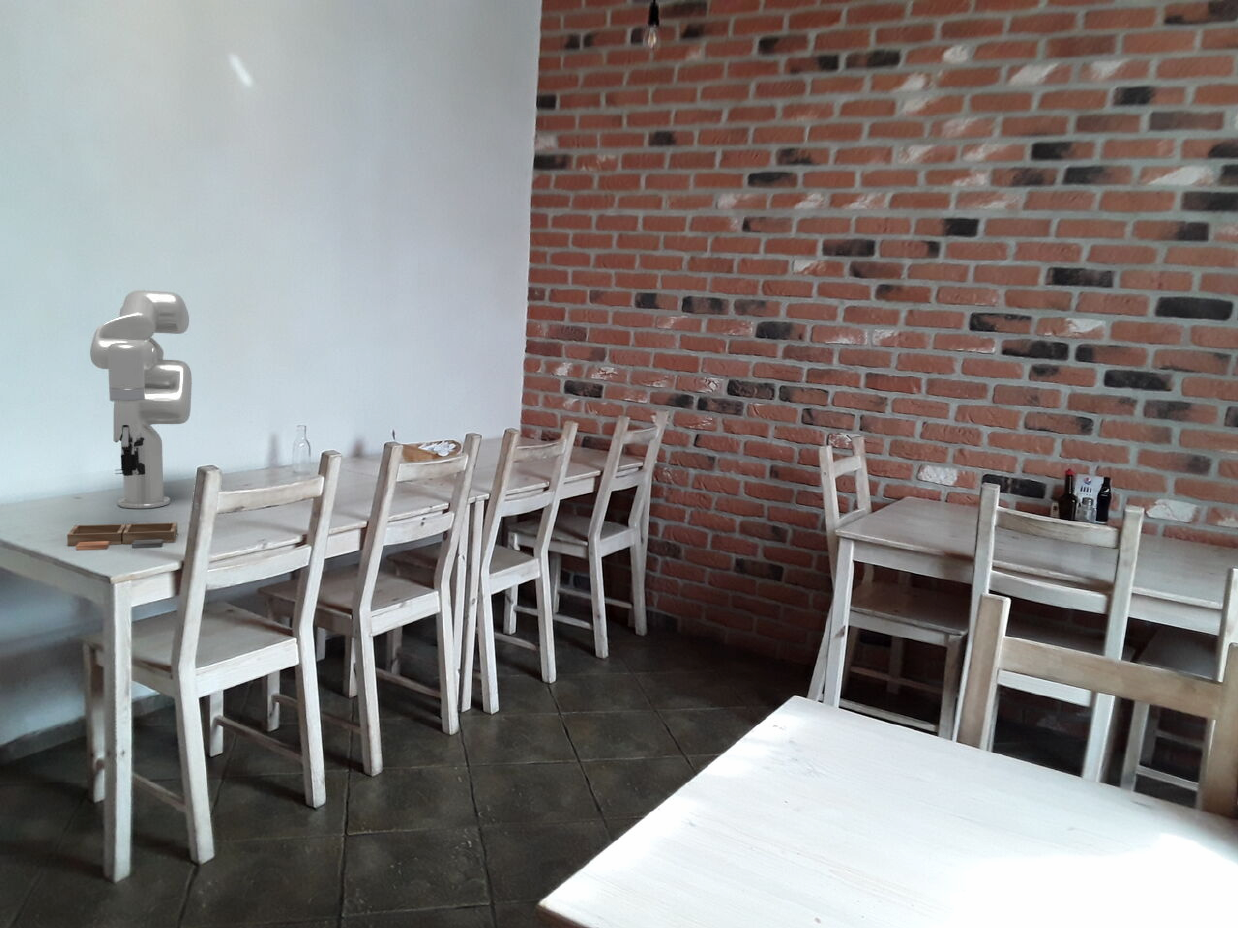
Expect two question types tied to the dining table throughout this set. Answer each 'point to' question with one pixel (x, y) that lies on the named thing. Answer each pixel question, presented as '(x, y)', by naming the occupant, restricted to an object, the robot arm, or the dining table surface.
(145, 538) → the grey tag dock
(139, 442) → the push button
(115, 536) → the terracotta tag dock
